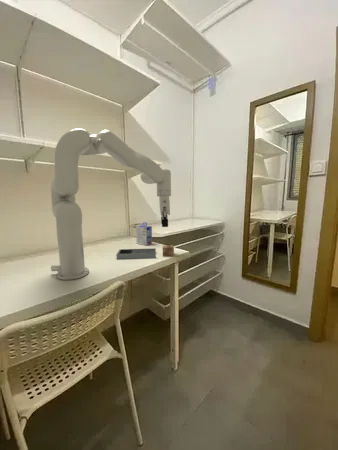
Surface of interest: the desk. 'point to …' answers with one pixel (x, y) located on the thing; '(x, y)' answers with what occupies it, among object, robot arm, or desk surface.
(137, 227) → the ink cartridge box
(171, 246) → the walnut block
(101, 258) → the desk surface
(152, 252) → the dark grey tray
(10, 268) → the desk surface
